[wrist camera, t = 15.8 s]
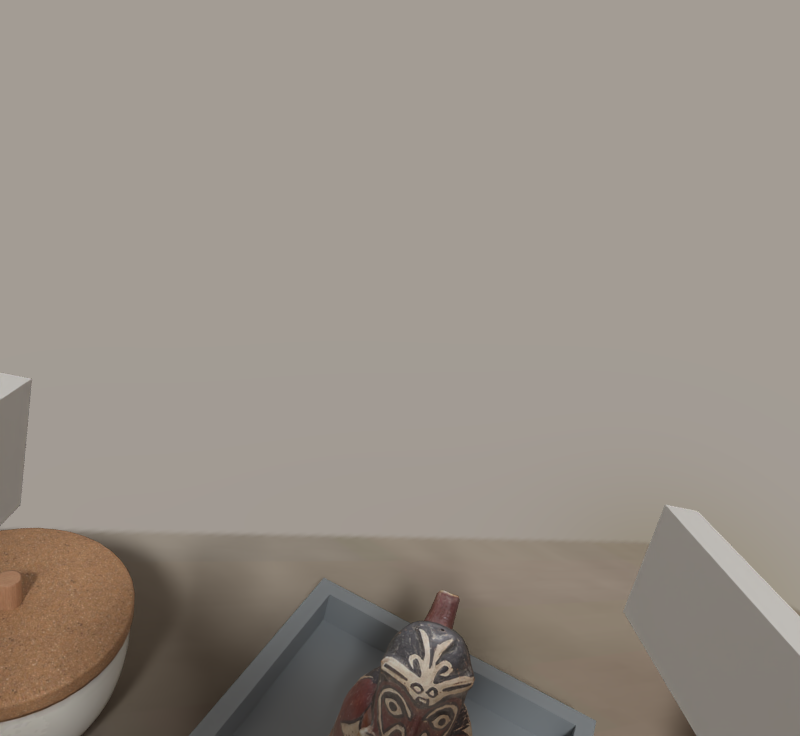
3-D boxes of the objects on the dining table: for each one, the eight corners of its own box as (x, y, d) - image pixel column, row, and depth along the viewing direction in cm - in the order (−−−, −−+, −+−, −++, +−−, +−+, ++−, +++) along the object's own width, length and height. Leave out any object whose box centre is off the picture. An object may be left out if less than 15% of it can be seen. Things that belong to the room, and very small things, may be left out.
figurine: (283, 824, 31) (328, 645, 26) (349, 708, 38) (396, 545, 32) (421, 909, 30) (498, 734, 24) (467, 772, 36) (536, 610, 31)
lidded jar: (147, 772, 33) (160, 637, 29) (-128, 872, 27) (-160, 721, 23) (108, 611, 41) (113, 487, 37) (-113, 662, 35) (-134, 522, 31)
